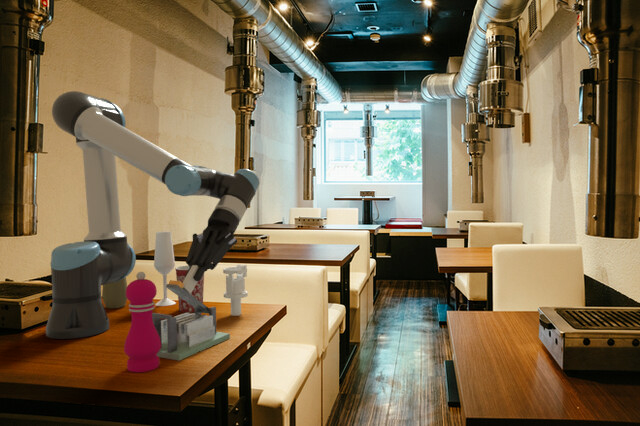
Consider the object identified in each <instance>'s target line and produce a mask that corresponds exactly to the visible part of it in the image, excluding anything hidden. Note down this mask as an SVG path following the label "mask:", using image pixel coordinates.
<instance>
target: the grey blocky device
mask: <svg viewBox="0 0 640 426" xmlns="http://www.w3.org/2000/svg"><path fill="white" fill-rule="evenodd" d="M208 308H209V314H208V315H207V314H202V313H200V312H199V310H197V309H196V308H195V312H183V313H181V314H178V315H176V316H173V315H172V314H168V313H167V314H166V313H157V312H152V319H153V324H154V326H155V329H156V331H157V333H158V335H159V337H160V340H161V348H162V344H164V345H168V352H169V353H171V352H174V351H176V350H177V347H183V348H189V349H190V348H192V347H195V346H197V345H199V344H202V343H204V342H207V341H209V340H211V339H214V338H215V334H216V332H217V307H216V306H211V307H208Z"/></svg>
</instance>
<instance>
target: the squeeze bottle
mask: <svg viewBox="0 0 640 426" xmlns="http://www.w3.org/2000/svg"><path fill="white" fill-rule="evenodd" d="M127 286H128V282H127V277H125V278H123V279H121V280H119V281H117V282H114V283H113V282H112V283H108V284H105V285H102V288H101V300H102V301H103V305H104V307H105V308H106V309H120V308H123V307H125V306H126V303H127V301H128V299H127V297H126V288H127Z"/></svg>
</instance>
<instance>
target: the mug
mask: <svg viewBox="0 0 640 426" xmlns="http://www.w3.org/2000/svg"><path fill="white" fill-rule="evenodd" d="M189 268H190V267H189V266H188V264H186V265H181V266H177V267H175V268H174V269H175V276H176V281H181V282H182V283H183V281H184V279H185V275H186V273H187V271H188V269H189ZM204 284H205V273H204V274H203V276H202V278H201V280H200V281H198V282H197V284H196V286H195V287H194V289H193V291H192V293H191V294H190V295H192V296H193V297H194V298H196V299H197V300H199V301H200V302H201V303H203V304H204ZM177 297H178V298H177V299H178V310H179V312H183V313H195V307H193V306H192V305H190V304H189V303H188V302H186V301H185V300H183V299H182V298H181V297H179V296H178V295H177Z"/></svg>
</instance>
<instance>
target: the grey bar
mask: <svg viewBox="0 0 640 426" xmlns="http://www.w3.org/2000/svg"><path fill="white" fill-rule="evenodd" d="M183 286H184V284H183V283H182V282H181V281H177V280H171V279H170V280H169V281H168V283H167V285H166V288H167V290H169V291H171V292H172V294H175V295H177V297H178V296H179V297H181V298H182V299H183V300H185V301H186V302H188V303H189V304H190V305H192V306H193V307H195V308H196V309H197V310H199V312H200V313H201V314H208V315H209V308H210V307H208V306H207V305H205V304H204V302H203V303H201V302H200V301H199V300H197V299H196V298H194V297H193V296H192V295H190V294H189V293H188V292H186V291H185V290H184V289H182V288H183Z"/></svg>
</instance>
